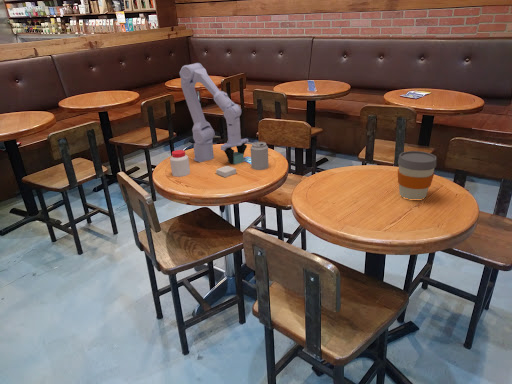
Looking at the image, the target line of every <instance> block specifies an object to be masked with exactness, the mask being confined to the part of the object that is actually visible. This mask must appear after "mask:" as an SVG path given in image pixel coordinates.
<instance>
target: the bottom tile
mask: <svg viewBox="0 0 512 384" xmlns="http://www.w3.org/2000/svg"><path fill="white" fill-rule="evenodd" d="M214 174H215V175H217V176H219V177H221V178H224V179H226V178H228V177H231V176H234V175H237V174H238V172H236V174H233V175H230V176H227V177H223V176H221V175H218V174H217V173H216V172H215V173H214Z"/></svg>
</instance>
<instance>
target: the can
mask: <svg viewBox="0 0 512 384" xmlns="http://www.w3.org/2000/svg"><path fill="white" fill-rule="evenodd" d="M250 161H251V169H252V170H256V171H262V170H263V171H264V170H266V169H268V168H269V146H268V145H267V143H266V142H264V141H255V142H252V143H251V146H250Z"/></svg>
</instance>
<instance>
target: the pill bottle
mask: <svg viewBox="0 0 512 384" xmlns="http://www.w3.org/2000/svg"><path fill="white" fill-rule="evenodd" d="M169 162H170V170H171V175H172V176H173V177H176V178H177V177H179V178H181V177H186V176H188V175H190V174H191V169H190V159H189V156H188V155H187V154H186V151H185V150H184V149H175V150H172V152H171V157H170V158H169Z"/></svg>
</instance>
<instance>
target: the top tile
mask: <svg viewBox="0 0 512 384" xmlns="http://www.w3.org/2000/svg"><path fill="white" fill-rule="evenodd" d="M215 173H217V174H218V175H217V176H219V175H221V176H223V177H222V178H224V177H226V178H228V177H227V176H229V177H231V176H230V175H232V176H234V175H237V174H236V173H237V168H236V167H232V166H229V165H225V166H222V167H220V168H216V170H215ZM233 174H234V175H233ZM221 176H220V177H221Z"/></svg>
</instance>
